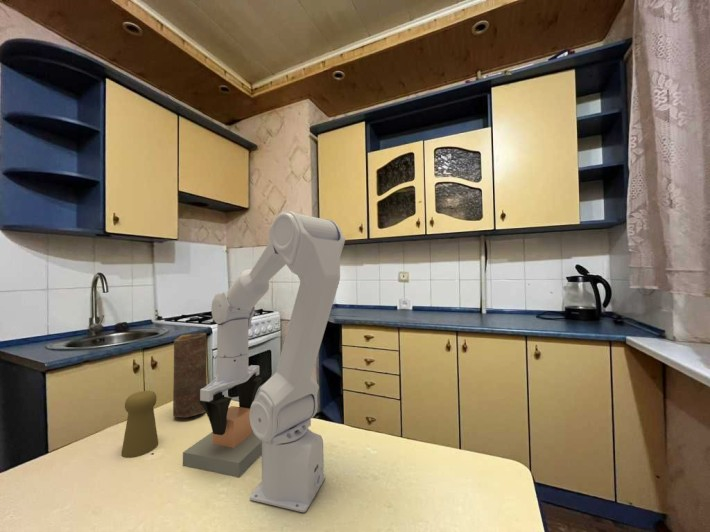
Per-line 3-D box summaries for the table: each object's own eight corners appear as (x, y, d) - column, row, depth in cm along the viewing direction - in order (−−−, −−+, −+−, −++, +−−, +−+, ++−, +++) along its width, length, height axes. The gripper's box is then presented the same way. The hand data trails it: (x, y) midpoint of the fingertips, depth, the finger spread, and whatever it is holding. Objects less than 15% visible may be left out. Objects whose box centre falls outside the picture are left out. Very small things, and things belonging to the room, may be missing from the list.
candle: (196, 422, 68) (196, 337, 69) (165, 422, 69) (166, 337, 69) (212, 408, 76) (212, 331, 77) (184, 408, 76) (185, 331, 77)
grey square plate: (276, 442, 61) (276, 427, 61) (238, 480, 49) (238, 463, 49) (228, 434, 64) (228, 420, 64) (182, 469, 53) (182, 452, 53)
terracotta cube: (251, 434, 59) (251, 408, 59) (234, 448, 54) (234, 420, 54) (231, 430, 60) (231, 405, 60) (212, 443, 55) (212, 417, 56)
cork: (138, 459, 55) (139, 400, 55) (112, 455, 56) (114, 398, 56) (165, 441, 61) (166, 388, 61) (141, 438, 62) (142, 386, 62)
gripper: (240, 344, 66) (240, 405, 65) (186, 362, 52) (185, 440, 51) (267, 346, 64) (267, 408, 63) (219, 365, 50) (218, 446, 49)
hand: (233, 423), depth 57 cm, fingers open, 7 cm apart
